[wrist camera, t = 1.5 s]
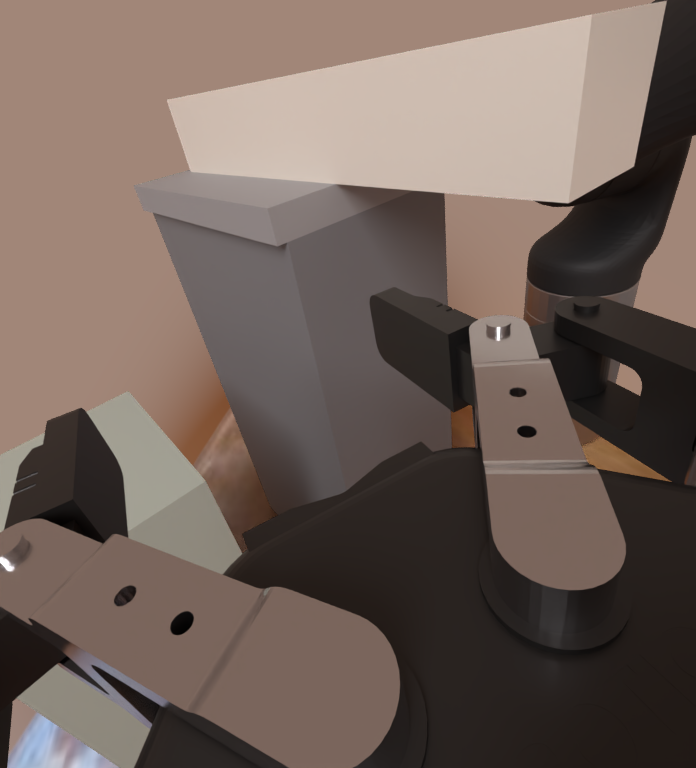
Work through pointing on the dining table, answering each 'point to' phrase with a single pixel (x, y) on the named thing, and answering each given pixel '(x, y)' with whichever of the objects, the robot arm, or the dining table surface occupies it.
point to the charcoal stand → (306, 317)
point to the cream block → (446, 114)
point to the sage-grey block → (145, 525)
